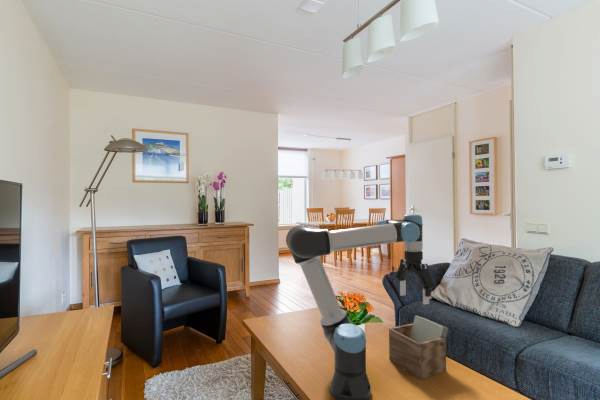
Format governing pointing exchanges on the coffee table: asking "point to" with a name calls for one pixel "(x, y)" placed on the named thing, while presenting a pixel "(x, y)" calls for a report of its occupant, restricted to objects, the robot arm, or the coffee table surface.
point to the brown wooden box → (416, 353)
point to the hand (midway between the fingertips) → (414, 299)
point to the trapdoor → (426, 330)
